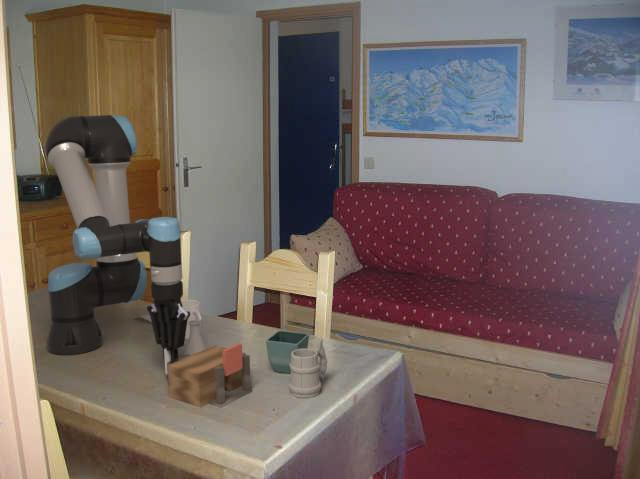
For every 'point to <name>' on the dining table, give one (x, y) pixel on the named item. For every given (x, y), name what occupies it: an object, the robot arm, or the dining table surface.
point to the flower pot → (284, 348)
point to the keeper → (232, 359)
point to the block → (208, 379)
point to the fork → (146, 317)
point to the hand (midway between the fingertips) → (171, 372)
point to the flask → (195, 339)
